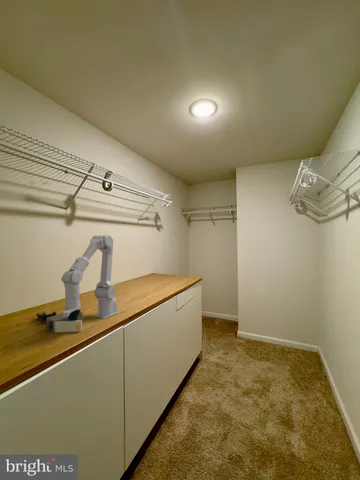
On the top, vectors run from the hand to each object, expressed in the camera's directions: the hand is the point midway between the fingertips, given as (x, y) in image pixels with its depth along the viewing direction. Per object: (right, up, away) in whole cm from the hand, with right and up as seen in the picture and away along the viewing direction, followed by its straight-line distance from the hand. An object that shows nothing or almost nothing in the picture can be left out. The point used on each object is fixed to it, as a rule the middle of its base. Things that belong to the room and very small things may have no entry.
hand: (73, 326), depth 91 cm
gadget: (-22, -3, +14) cm, 26 cm away
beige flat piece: (-2, -1, -2) cm, 3 cm away
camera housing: (-8, -2, +7) cm, 10 cm away
